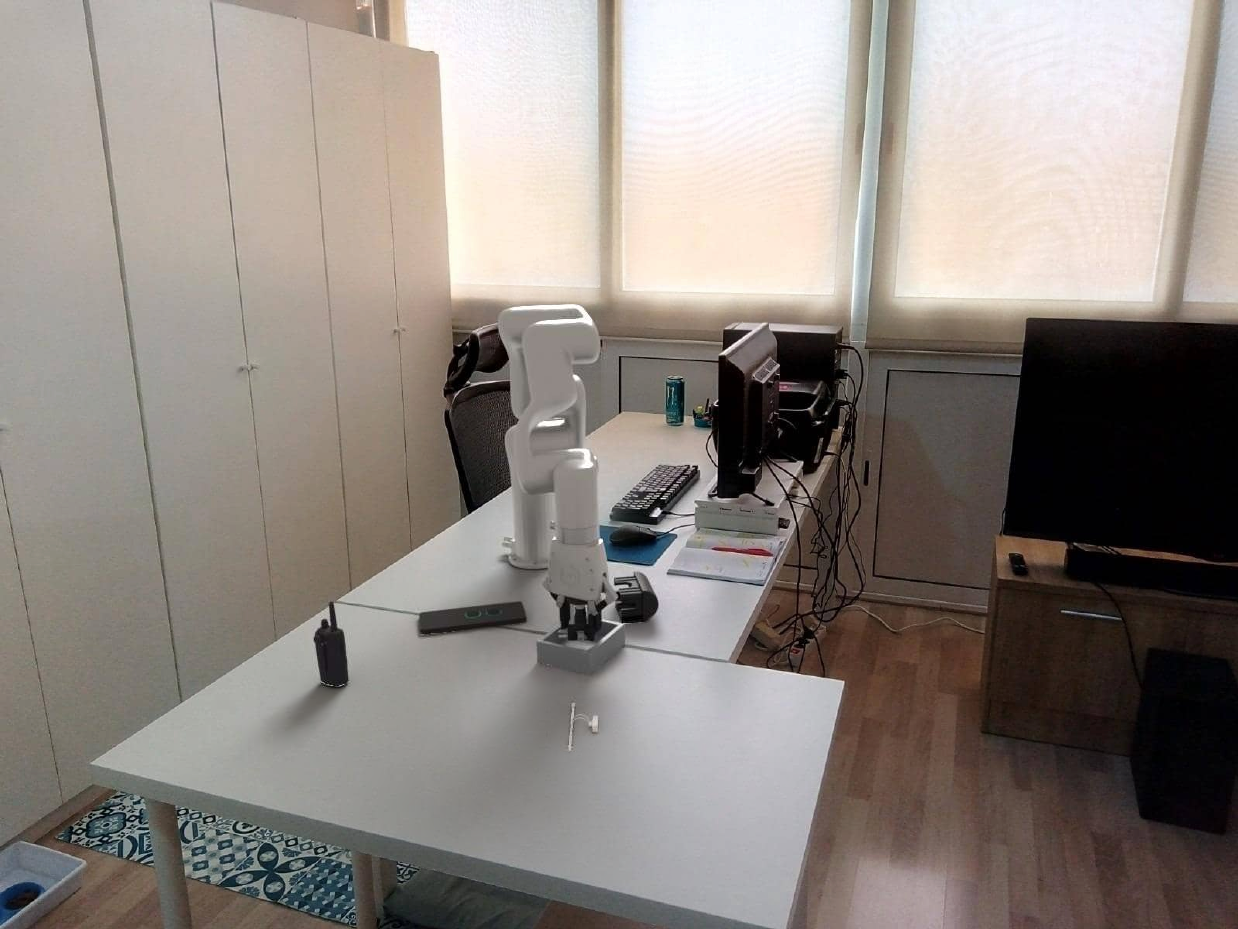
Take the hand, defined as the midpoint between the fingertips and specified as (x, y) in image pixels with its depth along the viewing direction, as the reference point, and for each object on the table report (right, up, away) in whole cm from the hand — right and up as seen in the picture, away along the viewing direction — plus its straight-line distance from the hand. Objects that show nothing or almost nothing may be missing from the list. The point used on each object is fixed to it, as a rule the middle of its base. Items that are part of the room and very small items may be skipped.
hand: (580, 628), depth 157 cm
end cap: (+10, 0, +17) cm, 20 cm away
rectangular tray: (0, -5, +1) cm, 5 cm away
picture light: (+1, -12, -21) cm, 24 cm away
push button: (-1, -2, +1) cm, 3 cm away
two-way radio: (-41, -8, -8) cm, 43 cm away
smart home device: (-21, -2, +15) cm, 26 cm away
